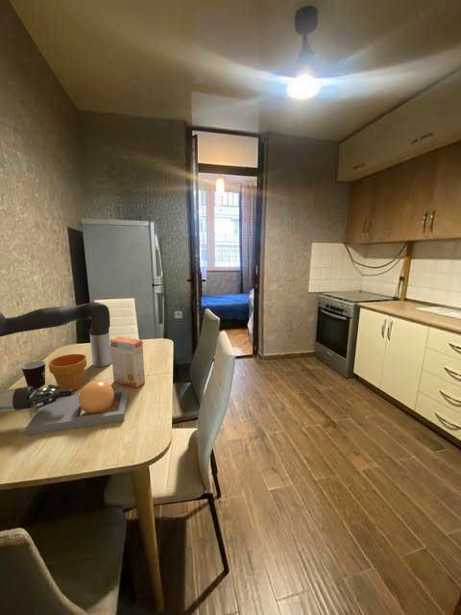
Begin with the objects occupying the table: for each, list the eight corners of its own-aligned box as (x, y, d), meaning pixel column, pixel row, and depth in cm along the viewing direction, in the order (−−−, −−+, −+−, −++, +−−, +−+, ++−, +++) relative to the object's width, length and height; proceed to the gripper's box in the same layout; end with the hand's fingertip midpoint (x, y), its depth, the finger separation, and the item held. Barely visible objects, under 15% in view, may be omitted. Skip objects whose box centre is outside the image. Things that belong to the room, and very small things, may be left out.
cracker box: (145, 382, 125) (143, 340, 121) (136, 388, 120) (133, 344, 116) (123, 376, 131) (120, 335, 127) (113, 382, 126) (109, 339, 121)
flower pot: (50, 385, 122) (46, 358, 119) (84, 376, 131) (82, 351, 128) (55, 399, 111) (50, 369, 109) (92, 388, 120) (89, 360, 117)
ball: (85, 382, 108) (113, 395, 112) (68, 411, 99) (99, 423, 103) (94, 370, 101) (123, 383, 105) (77, 399, 92) (110, 412, 96)
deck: (27, 435, 90) (26, 427, 89) (47, 405, 107) (46, 398, 106) (124, 420, 98) (123, 413, 97) (128, 395, 115) (127, 388, 114)
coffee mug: (36, 391, 117) (32, 369, 115) (19, 389, 119) (16, 367, 117) (58, 378, 128) (55, 359, 126) (42, 377, 130) (39, 357, 128)
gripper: (5, 399, 88) (65, 392, 92) (23, 380, 100) (75, 375, 105) (9, 419, 89) (67, 411, 94) (26, 398, 102) (77, 392, 107)
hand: (71, 392), depth 99 cm, fingers closed
